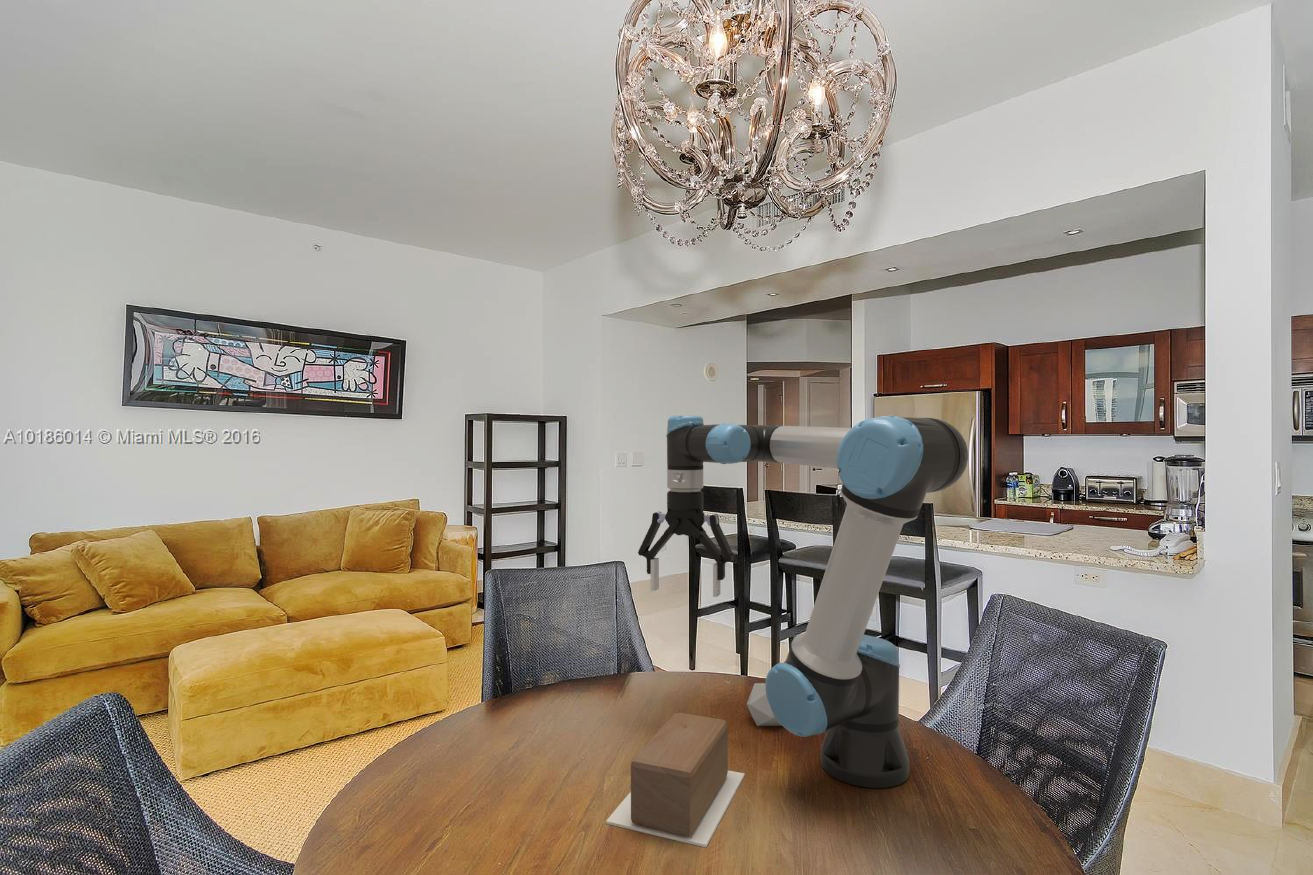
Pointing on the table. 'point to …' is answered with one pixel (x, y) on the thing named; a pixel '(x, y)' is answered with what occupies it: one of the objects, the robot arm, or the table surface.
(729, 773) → the white mat
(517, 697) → the table surface
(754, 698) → the die
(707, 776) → the wooden block
